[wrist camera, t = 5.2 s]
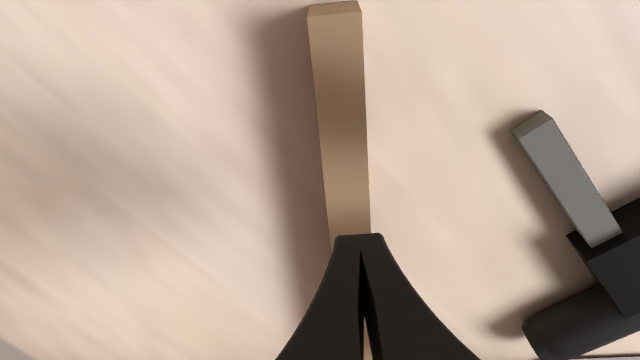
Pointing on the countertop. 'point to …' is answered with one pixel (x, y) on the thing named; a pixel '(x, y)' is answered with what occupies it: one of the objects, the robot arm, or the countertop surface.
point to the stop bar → (341, 118)
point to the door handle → (584, 252)
